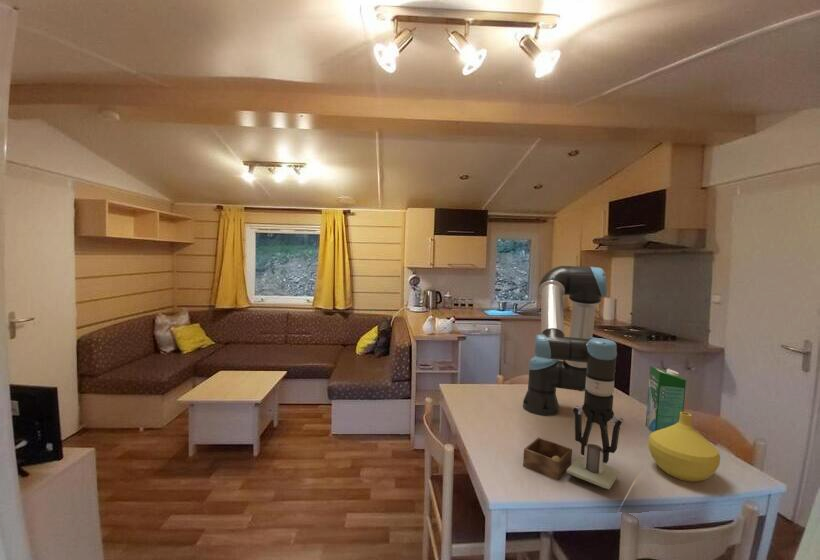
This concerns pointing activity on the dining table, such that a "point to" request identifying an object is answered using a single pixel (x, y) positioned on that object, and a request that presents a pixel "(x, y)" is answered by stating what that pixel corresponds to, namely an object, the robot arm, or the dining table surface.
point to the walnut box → (547, 458)
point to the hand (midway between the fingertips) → (593, 468)
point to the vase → (684, 451)
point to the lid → (593, 469)
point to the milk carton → (664, 398)
